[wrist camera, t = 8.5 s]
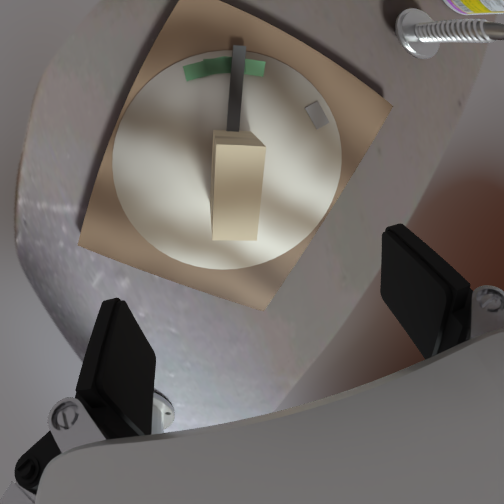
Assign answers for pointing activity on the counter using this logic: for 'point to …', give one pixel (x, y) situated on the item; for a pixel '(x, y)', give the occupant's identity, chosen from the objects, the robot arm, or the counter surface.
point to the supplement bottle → (476, 6)
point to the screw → (441, 32)
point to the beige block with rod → (236, 168)
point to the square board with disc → (200, 152)
